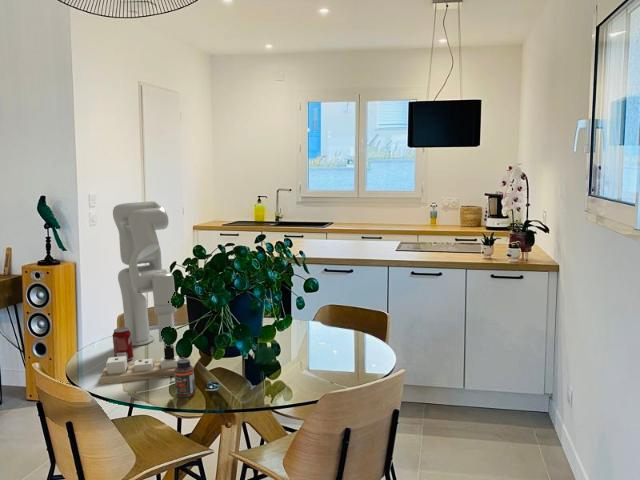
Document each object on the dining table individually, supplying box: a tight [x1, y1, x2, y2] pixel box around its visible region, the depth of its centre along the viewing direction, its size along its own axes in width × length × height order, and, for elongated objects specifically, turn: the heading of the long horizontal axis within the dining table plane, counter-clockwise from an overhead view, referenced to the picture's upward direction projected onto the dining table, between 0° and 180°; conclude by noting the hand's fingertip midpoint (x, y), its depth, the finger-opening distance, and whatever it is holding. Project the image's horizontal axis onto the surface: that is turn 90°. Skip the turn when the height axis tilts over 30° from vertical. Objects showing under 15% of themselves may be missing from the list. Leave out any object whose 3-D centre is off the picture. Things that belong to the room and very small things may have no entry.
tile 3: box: [160, 355, 180, 369], centre depth 218 cm, size 6×6×4 cm
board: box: [99, 357, 181, 385], centre depth 217 cm, size 13×28×2 cm, turn 101°
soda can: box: [112, 326, 134, 362], centre depth 232 cm, size 7×7×12 cm
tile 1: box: [105, 356, 128, 374], centre depth 215 cm, size 6×6×4 cm
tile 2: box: [134, 357, 154, 372], centre depth 217 cm, size 6×6×4 cm
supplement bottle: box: [174, 358, 196, 399], centre depth 194 cm, size 6×6×11 cm
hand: (169, 358), depth 218 cm, fingers closed
